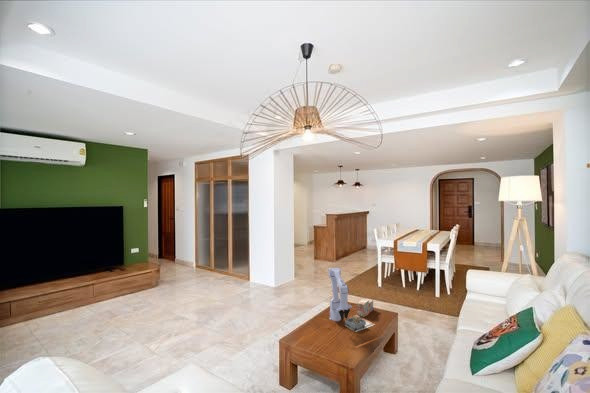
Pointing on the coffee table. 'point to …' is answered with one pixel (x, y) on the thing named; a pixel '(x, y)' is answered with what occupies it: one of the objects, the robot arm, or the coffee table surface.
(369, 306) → the multicoloured piece
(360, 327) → the track board
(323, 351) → the coffee table surface
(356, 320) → the maple block
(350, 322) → the grey storage bin
